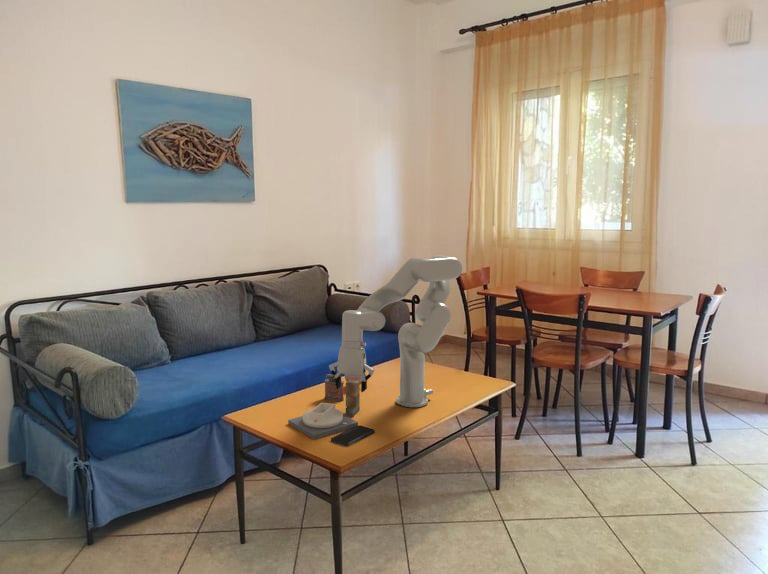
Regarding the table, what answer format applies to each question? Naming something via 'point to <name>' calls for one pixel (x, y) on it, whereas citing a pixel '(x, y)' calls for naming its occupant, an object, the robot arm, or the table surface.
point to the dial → (323, 416)
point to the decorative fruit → (353, 378)
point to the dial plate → (321, 432)
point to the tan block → (352, 397)
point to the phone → (352, 435)
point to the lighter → (333, 389)
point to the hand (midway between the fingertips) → (350, 389)
